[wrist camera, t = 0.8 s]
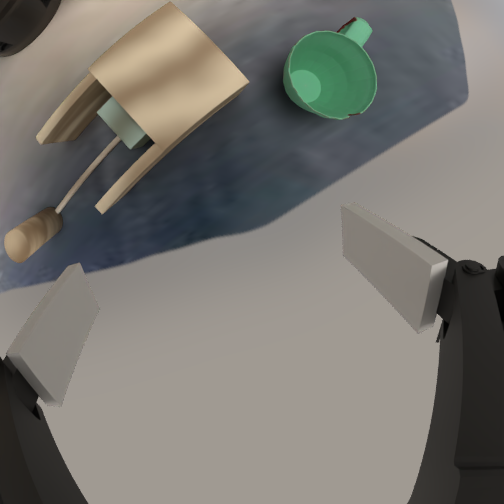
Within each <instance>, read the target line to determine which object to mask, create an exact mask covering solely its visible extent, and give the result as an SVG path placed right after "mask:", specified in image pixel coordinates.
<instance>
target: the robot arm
mask: <svg viewBox="0 0 504 504" xmlns="http://www.w3.org/2000/svg"><path fill="white" fill-rule="evenodd" d="M60 1H61V0H0V56H9V55H12V54H15V53H17V52H18V51H20V50H22V49H23V48H25V47H26V46H27V45H29V44H30V43H31V42H32V41H33V40H34V39H35V38H36V37H37V36H38V35H39V34H40V33H41V32H42V31H43V30H44V28H45V27H46V26H47V25H48V23H49V22H50V20H51V19H52V17H53V16H54V14H55V12H56V10H57V8H58V6H59V4H60ZM341 213H342V238H343V256H344V257H345V258H346V259H347V260H348V261H349V262H350V263H351V264H352V265H353V266H354V267H355V268H356V269H357V270H358V271H359V272H360V273H361V274H362V275H363V276H364V277H365V278H366V279H367V280H368V281H369V282H370V283H371V284H372V285H373V286H374V287H375V288H376V289H377V290H378V291H379V292H380V293H381V295H382V296H383V297H384V298H385V299H386V300H387V301H388V302H389V303H390V304H391V305H392V306H393V307H394V308H395V309H396V310H397V311H398V313H399V314H400V315H401V316H402V317H403V318H404V319H405V320H406V321H407V322H408V323H409V324H410V325H411V327H412V328H413V329H414V330H415V331H416V332H417V333H418V334H419V333H421V332H423V331H425V330H427V329H429V328H431V327H433V325H434V322H435V318H436V314H438V315H440V316H441V318H442V319H443V320H442V324H441V327H440V330H439V334H438V337H437V340H436V342H439V340H440V353H439V367H438V376H437V385H436V394H435V400H434V407H433V413H432V419H431V424H430V430H429V434H428V439H427V443H426V448H425V452H424V455H423V459H422V463H421V467H420V470H419V474H418V477H417V481H416V483H415V486H414V490H413V492H412V495H411V498H410V500H409V502H408V503H407V504H504V256H501V257H500V258H499V259H498V264H497V268H496V269H491V270H487V269H486V267H484V266H483V265H482V264H480V263H478V262H476V261H472V260H462V261H459V262H456V261H455V260H453V259H452V258H450V257H449V256H447V255H446V254H444V253H443V252H441V251H440V250H437V248H435V247H434V246H431V245H430V244H429V243H427V242H425V241H424V240H422V239H420V238H417V237H414V236H411V235H409V234H408V233H406V232H404V231H403V230H401V229H400V228H398V227H396V226H395V225H393V224H391V223H390V222H388V221H386V220H385V219H383V218H381V217H379V216H378V215H376V214H374V213H372V212H371V211H369V210H367V209H365V208H364V207H362V206H360V205H358V204H356V203H349V204H343V205H341ZM99 310H100V307H99V305H98V303H97V301H96V299H95V296H94V294H93V292H92V290H91V288H90V285H89V283H88V281H87V279H86V276H85V274H84V272H83V269H82V267H81V264H80V263H77V264H73V265H69V266H68V267H67V268H66V269H65V270H64V272H63V273H62V274H61V275H60V277H59V278H58V279H57V280H56V282H55V283H54V284H53V286H52V287H51V288H50V289H49V291H48V292H47V293H46V295H45V296H44V298H43V299H42V300H41V302H40V303H39V304H38V306H37V307H36V308H35V310H34V311H33V313H32V314H31V316H30V317H29V318H28V320H27V321H26V323H25V324H24V326H23V328H22V329H21V330H20V332H19V333H18V335H17V336H16V338H15V340H14V341H13V343H12V345H11V346H10V348H9V349H8V351H7V353H6V354H7V355H6V357H5V359H4V360H2V359H1V357H0V504H88V502H87V501H86V499H85V498H84V496H83V494H82V493H81V491H80V489H79V488H78V486H77V484H76V482H75V481H74V479H73V477H72V475H71V473H70V472H69V470H68V468H67V466H66V464H65V462H64V460H63V458H62V456H61V454H60V452H59V450H58V447H57V445H56V443H55V441H54V439H53V436H52V434H51V432H50V429H49V427H48V424H47V422H46V419H45V416H44V414H43V411H42V409H41V407H40V406H39V405H38V404H37V403H36V402H37V399H38V396H39V397H40V398H41V399H42V400H43V401H44V402H45V404H47V406H58V407H60V406H62V403H63V400H64V396H65V394H66V391H67V388H68V385H69V382H70V379H71V377H72V374H73V371H74V369H75V366H76V364H77V361H78V359H79V356H80V353H81V351H82V349H83V346H84V344H85V341H86V339H87V337H88V334H89V332H90V330H91V327H92V325H93V323H94V320H95V318H96V316H97V314H98V312H99Z"/></svg>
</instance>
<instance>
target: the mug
mask: <svg viewBox="0 0 504 504" xmlns="http://www.w3.org/2000/svg"><path fill="white" fill-rule="evenodd" d="M371 33H372V29H371V27H370V26H369V25H368V23H367V22H366V21H365V20H363V19H361V18H357V17H354V18H353V19H351V20H350V21H349V22H347V23H346V24H344V25H343V26H342V27H341V28H340V29H339V30H338V31H337V32H333V31H315V32H313V33H310V34H308V35H306V36H303V37H302V38H301V39H300V40H299V41H298V42H297V43H296V44H295V45H294V46H293V47H292V48H291V51H290V53H289V55H288V58H287V60H286V63H285V66H284V72H283V83H284V87H285V91H286V93H287V94H288V96H289V97H290V99H291V100H292V101H293V102H295V103H296V104H297V105H298V106H299V107H300V108H303V109H305V110H307V111H309V112H312V113H315V114H317V115H319V116H321V117H324V118H330V119H336V120H342V119H347V118H350V116H349V115H358V114H361V113H363V112H365V111H366V109H367V108H368V107H369V106H370V104H371V103H372V102H373V99H374V96H375V93H376V91H377V75H376V72H375V68H374V65H373V63H372V61H371V59H370V57H369V56H368V54H367V52H366V51H365V50H364V49H363V48H362V46H363V45H364V44H365V42H366V41H367V39H368V38H369V36H370V34H371Z"/></svg>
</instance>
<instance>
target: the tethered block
mask: <svg viewBox="0 0 504 504" xmlns="http://www.w3.org/2000/svg"><path fill="white" fill-rule="evenodd" d="M97 113H98V115H99V116H100V117H101V118H102V119H103V120H104V121H105V122H106V123H107V125H108V126H109V127H110V128H111V129H112V130H113V131H114V132H115V133H116V135H117V137H116V138H115V139H114V140H113V141H112V142H111V143H110V144H109V145H108V146H107V147H106V148H105V149H104V150H103V152H102V153H101V154H100V155H99V156H98V157H97V158H96V159H95V161H94V162H93V163H92V164H91V165H90V166H89V167H88V169H87V170H86V171H85V172H84V173H83V175H82V176H81V177H80V178H79V180H78V181H77V182H76V183H75V185H74V186H73V187H72V188H71V190H70V191H69V192H68V193H67V195H66V196H65V197H64V199H63V200H62V201H61V203H60V204H59V206H58V207H57V208H54V207H48V208H46V209H44V210H42V211H41V212H39V213H37V214H36V215H34V216H33V217H31V218H29V219H28V220H26V221H25V222H23V223H21V224H20V225H18V226H17V227H15V228H14V229H12V230H11V231H9V232H8V233H7V234H6V236H5V240H4V245H5V249H6V252H7V254H8V256H9V257H10V258H11V259H12V260H13V261H15V262H17V263H22V262H24V261H25V260H26V259H27V258H28V257H29V256H31V255H32V254H33V253H34V252H35V251H36V250H37V249H39V248H40V247H41V246H42V245H43V244H44V243H46V242H47V241H48V240H49V239H50V238H52V237H53V236H54V235H55V234H56V233H58V232H59V231H60V230H61V228H62V225H63V219H62V216H61V214H60V212H61V211H62V209H63V208H64V207H65V205H66V204H67V203H68V201H69V200H70V199H71V197H72V196H73V195H74V194H75V192H76V191H77V190H78V189H79V187H80V186H81V185H82V184H83V182H84V181H85V180H86V179H87V178H88V176H89V175H90V174H91V173H92V172H93V171H94V169H95V168H96V167H97V166H98V165H99V164H100V163H101V162H102V160H103V159H104V158H105V157H106V156H107V155H108V154H109V153H110V152H111V151H112V150H113V148H114V147H115V146H116V145H117V144H118V143H119V142H120V141H121V140H122V141H123V142H124V143H125V144H126V146H127V147H128V148H129V149H135V148H139V147H143V146H144V145H145V144H146V143H147V142H148V141H149V140H150V139H151V138H150V137H149V136H148V135H147V133H146V132H145V131H144V130H143V129H142V128H141V127H140V126H139V125H138V124H137V122H136V121H135V120H134V119H133V118H132V117H131V116H130V115H129V114H128V113H127V112H126V110H125V109H124V108H123V107H122V106H121V105H120V104H119V103H118V102H117V101H116V100H115V98H114V97H113V96H112V97H111V98H110V99H109V100H108V101H107V102H106V103H105V104H104V105H103V106H102V107H101V108H100V109H99V110H98V111H97Z"/></svg>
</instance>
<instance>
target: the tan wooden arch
mask: <svg viewBox="0 0 504 504" xmlns="http://www.w3.org/2000/svg"><path fill="white" fill-rule="evenodd" d="M88 70H89V71H90V73H89V74H88V75H87V76H86V77H85V78H84V79H83V80H82V81H81V82H80V83H79V84H78V85H77V86H76V87H75V89H74V90H73V91H72V92H71V93H70V94H69V95H68V96H67V98H66V99H65V100H64V101H63V102H62V104H61V105H60V106H59V107H58V108H57V110H56V111H55V112H54V113H53V115H52V116H51V117H50V118H49V120H48V121H47V122H46V124H45V125H44V126H43V128H42V129H41V130H40V132H39V133H38V134H37V136H36V137H35V138H36V139H37V140H38V142H39V143H40V144H41V145H42V144H49V143H56V142H64V141H72V140H76V138H77V137H78V136H79V135H80V134H81V133H82V131H83V130H84V129H85V128H86V127H87V126H88V125H89V123H90V122H91V121H92V120H93V119H94V118H95V117H96V116H97V115H98V113H97V111H98V110H99V109H100V108H101V107H102V106H103V105H104V104H105V103H106V102H107V101H108V100H109V99H110V98H111V97H112V96H113V97H114V98H115V100H116V101H117V102H118V103H119V104H120V105H121V106H122V107H123V108H124V109H125V110H126V112H127V113H128V114H129V115H130V116H131V117H132V118H133V119H134V120H135V121H136V122H137V124H138V125H139V126H140V127H141V128H142V129H143V130H144V131H145V132H146V133H147V135H148V136H149V137H150V138H151V139H152V140H153V141H154V142H155V144H154V145H153V146H152V147H150V148H149V149H148V150H147V151H146V152H145V153H144V154H143V155H142V156H141V157H140V158H139V159H138V160H137V161H136V162H135V163H134V164H133V165H132V166H131V167H130V168H129V169H128V170H127V171H126V172H125V173H124V174H123V175H122V176H121V178H120V179H119V180H118V181H117V182H116V183H115V184H114V185H113V186H112V187H111V188H110V189H109V191H108V192H107V193H106V194H105V195H104V196H103V197H102V198H101V200H100V201H99V202H98V203H97V204H96V205H95V207H96V208H97V209H98V210H99V211H100V213H101V214H103V213H105V212H106V211H107V210H108V209H109V208H110V207H112V206H113V205H114V204H115V203H116V202H118V201H119V200H120V199H121V198H122V197H124V196H125V195H126V194H127V193H128V192H129V191H130V190H131V189H132V188H133V186H134V185H135V184H136V183H137V182H138V181H139V180H140V179H141V178H142V177H143V176H144V175H145V174H147V173H148V172H149V171H150V170H151V169H152V168H153V167H154V166H155V165H156V164H157V163H158V162H159V161H160V160H161V159H162V158H163V157H164V156H165V155H167V154H168V153H169V152H170V151H171V150H172V149H173V148H174V147H175V146H177V145H178V144H179V143H180V142H181V141H182V140H183V139H184V138H186V137H187V136H188V135H189V134H190V133H191V132H193V131H194V130H195V129H196V128H197V127H199V126H200V125H201V124H202V123H203V122H205V121H206V120H207V119H208V118H210V117H211V116H212V115H213V114H215V113H216V112H217V111H218V110H220V109H221V108H222V107H224V106H225V105H226V104H227V103H229V102H230V101H231V100H233V99H234V98H235V97H237V96H238V95H239V94H240V93H241V92H242V90H243V89H244V88H245V87H246V86H247V85H248V83H249V81H248V80H247V79H246V77H245V76H244V75H243V74H242V73H241V72H240V71H239V70H238V68H237V67H236V66H235V65H234V64H233V63H232V62H231V61H230V60H229V59H228V57H227V56H226V55H225V54H224V53H223V52H222V51H221V50H220V49H219V48H218V47H217V46H216V45H215V44H214V43H213V42H212V41H211V40H210V39H209V38H208V37H207V36H206V35H205V34H204V33H203V32H202V31H201V30H200V29H199V28H198V27H197V26H196V25H195V24H194V23H193V22H192V21H191V20H190V19H189V18H188V17H187V16H186V15H185V14H184V13H182V12H181V11H180V10H179V9H178V8H177V7H176V6H175V5H174V4H173V3H171V2H168V3H167V4H165V5H164V6H162V7H161V8H160V9H158V10H157V11H155V12H154V13H152V14H151V15H150V16H148V17H147V18H146V19H144V20H143V21H142V22H140V23H139V24H138V25H136V26H135V27H134V28H133V29H131V30H130V31H129V32H128V33H126V34H125V35H124V36H123V37H122V38H120V39H119V40H118V41H117V42H116V43H115V44H114V45H112V46H111V47H110V48H109V49H108V50H107V51H106V52H105V53H104V54H103V55H101V56H100V57H99V58H98V59H97V60H96V61H95V62H94V63H93V64H92V65H91V66H90V67H89V68H88Z"/></svg>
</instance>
